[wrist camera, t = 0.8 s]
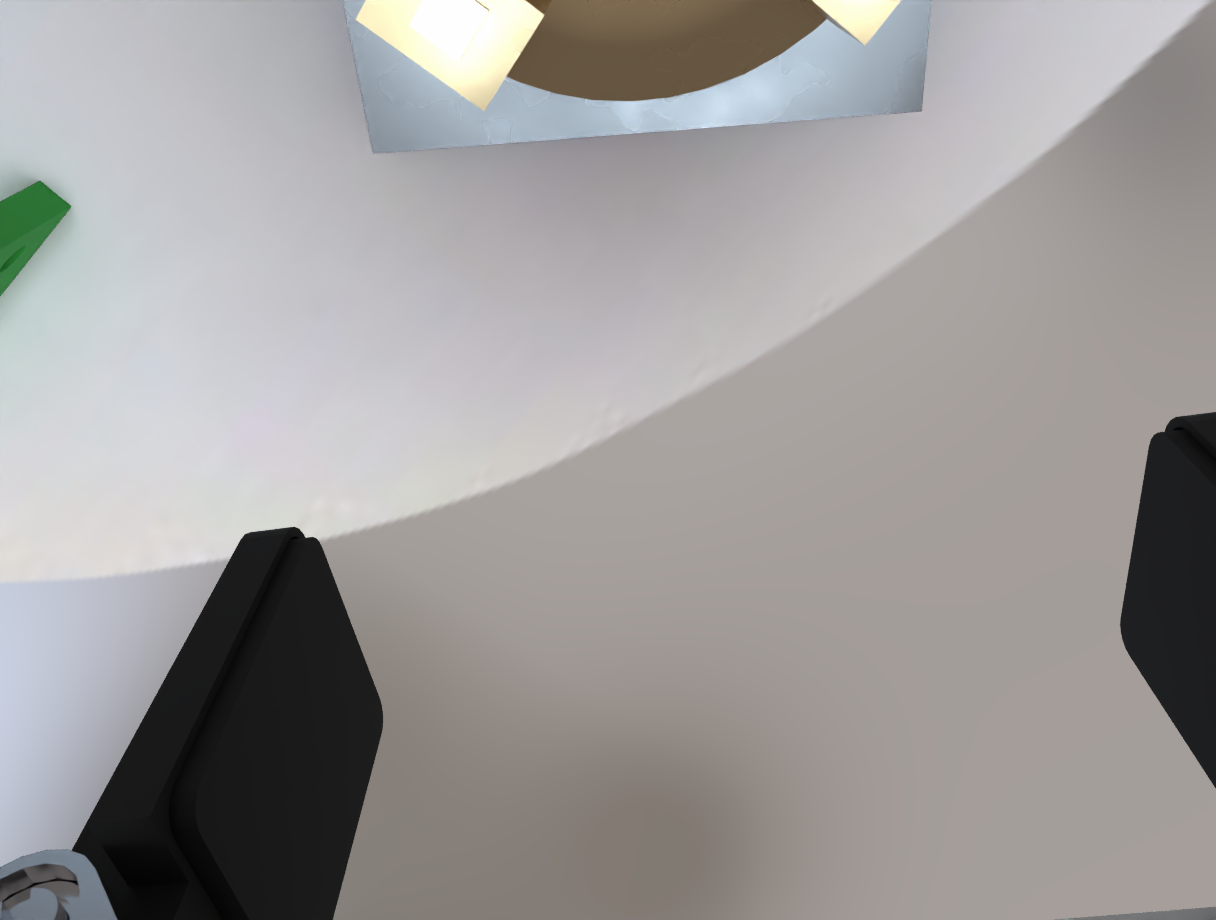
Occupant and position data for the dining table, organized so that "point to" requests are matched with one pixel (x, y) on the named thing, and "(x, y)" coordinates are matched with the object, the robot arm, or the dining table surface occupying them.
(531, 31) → the ring nut
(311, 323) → the dining table surface
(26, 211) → the pipe clamp
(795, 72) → the mounting plate
